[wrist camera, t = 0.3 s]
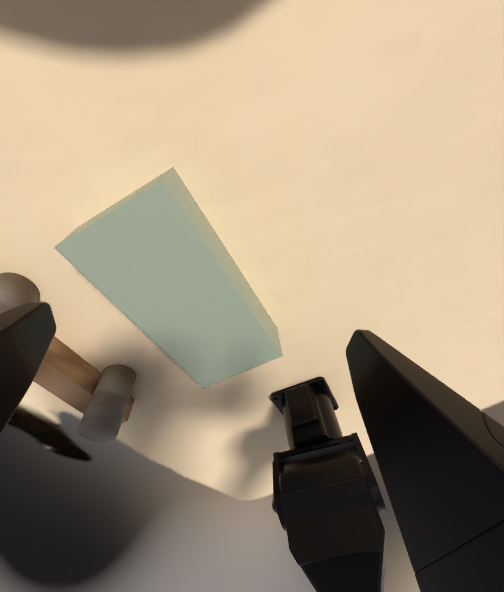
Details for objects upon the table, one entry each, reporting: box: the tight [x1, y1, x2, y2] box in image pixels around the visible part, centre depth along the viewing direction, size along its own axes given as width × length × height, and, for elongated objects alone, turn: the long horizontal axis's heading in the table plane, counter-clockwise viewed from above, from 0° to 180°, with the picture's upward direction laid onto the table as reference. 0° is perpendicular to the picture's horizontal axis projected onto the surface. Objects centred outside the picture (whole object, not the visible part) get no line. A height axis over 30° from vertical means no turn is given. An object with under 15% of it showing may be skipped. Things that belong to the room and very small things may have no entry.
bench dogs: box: [0, 272, 136, 442], centre depth 23 cm, size 20×6×6 cm, turn 25°
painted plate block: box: [54, 167, 283, 388], centre depth 22 cm, size 16×8×4 cm, turn 28°
